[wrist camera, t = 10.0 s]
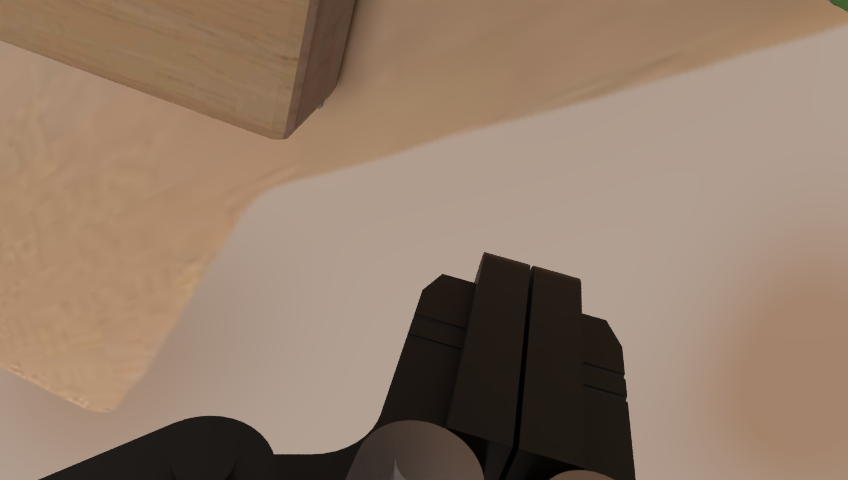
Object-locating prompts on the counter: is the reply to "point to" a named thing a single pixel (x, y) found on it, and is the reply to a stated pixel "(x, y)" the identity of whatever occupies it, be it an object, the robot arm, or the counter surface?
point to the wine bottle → (840, 3)
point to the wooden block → (198, 51)
